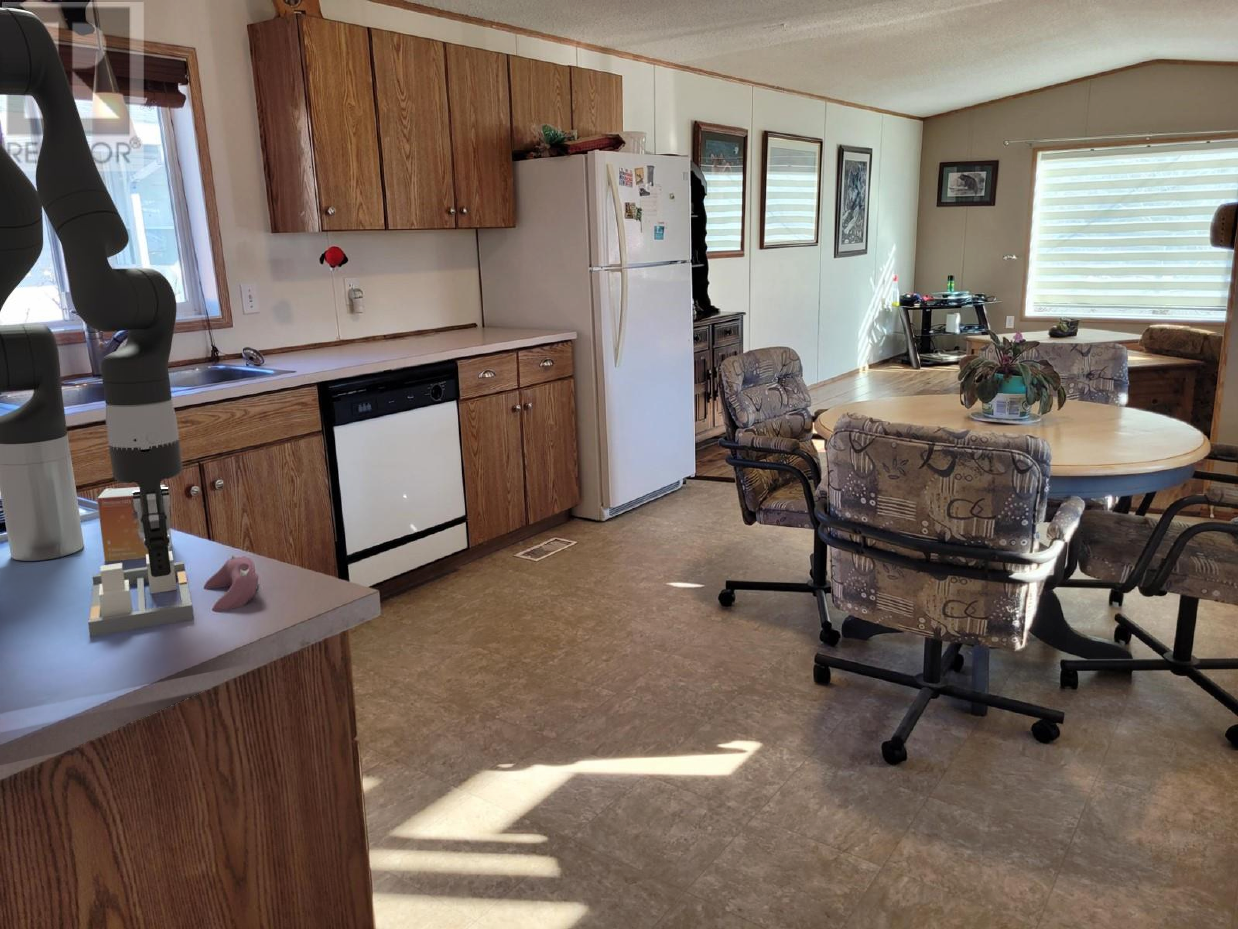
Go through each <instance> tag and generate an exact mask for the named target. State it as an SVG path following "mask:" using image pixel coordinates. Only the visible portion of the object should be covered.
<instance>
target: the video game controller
mask: <svg viewBox="0 0 1238 929" xmlns="http://www.w3.org/2000/svg"><path fill="white" fill-rule="evenodd" d="M226 587H230V588H229V589H228V590H227V591H226V592H225V593H224V594H223V595H222V596H221V597H220V598H218V600H217V601H216V602H215V603H214V604H213V607H212V609H211V610H212V611H214V612H219V611H227V610H231V609H236V608H239V607H243V606H245V605H246V604H247V603H248V602H249V601H251V599H252V598H253V597H254V596H255V594H257V593H259V591H260V590H261V584H260V583H259V574H258V573H256V566H255V563H254V561H253V559H251V558H250V557H247V556H242V555H239V556H237V557H236V556H235V555H232V556H231V558H228V559H227V560H226V562H225V563H224V564H223V565H222V567H220V569H219V570H218V571H217V572H215V573H214V574H213V575H211V577H209V579H207V581H206V582H205V584H204V586H203V589H204V590H210V589H218V588H226Z"/></svg>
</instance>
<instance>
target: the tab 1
mask: <svg viewBox="0 0 1238 929" xmlns="http://www.w3.org/2000/svg"><path fill="white" fill-rule="evenodd" d="M99 569H100V570H99V574H101V580H102V584H100V588H99V599H100V606H101V613H102V617H105V616H111V615H117V614H123V613H129V612H134V607H133V602H132V594H131V593H132V592H131V588H130V585H129V580H124V573H123V570H124V566H123V562H119V563H111V564H104V565H100V568H99Z"/></svg>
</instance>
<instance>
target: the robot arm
mask: <svg viewBox="0 0 1238 929" xmlns="http://www.w3.org/2000/svg"><path fill="white" fill-rule="evenodd" d="M3 95H4V96H32V98H33V99H34V101H35V103H36V105H37V107H38V108H39V110H40V113H41V116H42V121H43V130H42V131H43V132H42V141H41V145H40V149H39V153H38V158H37V163H36V167H35V168H36V169H35V186H34V184H33V182H32V181H31V180H30V178H29V177H28V176H27V175H26V173H25V172H24V171H23V170H22V169H21V167H20V165H18V164H17V163H16V161H15V160H14V159H13V158H12V157H11V155H10V154H9V153H8V151H7V150H6V149H5V147H4V146H3V145H2V144H1V142H0V312H1V311H2V309H3V307H4V305H5V303H6V301H7V300H8V298H9V297H10V295H11V294H12V293H13V291H14V290H15V289H16V288H17V287H18V286H19V285H20V284H21V283H22V281H23V280H24V279H25V278H26V276H27V275H28V274H29V273H30V271H31V270H32V269H33V267H34V266H35V264H36V263H37V262H38V260H39V258H40V256H41V254H42V252H43V247H44V218H43V212H45V213H44V214H46V216H47V218H48V221H49V223H50V224H51V227H52V229H53V230H54V232H55V234H56V236H57V238H58V240H59V243H60V244H61V246H62V251H63V257H64V263H65V268H66V273H67V278H68V284H69V291H70V298H71V301H72V304H73V307H74V310H75V311H76V313H77V314H78V317H80V319H82V321H83V322H85V324H87V325H88V326H89V327H90V328H92V329H94V330H95V331H96V330H97V332H98V331H99V332H103V333H113V332H116V333H117V332H124V331H128V336H127V338H126V343H125V345H124V346H123V347H121V348H120V349H118V350H115V351H113V352H110V353H109V354H107V355H105V356H104V357H103V358H102V360H101V363H100V371H101V372H100V373H101V379H102V387H103V394H104V402H105V427H106V435H107V443H108V448H109V457H110V463H111V464H110V465H111V472H112V477H113V479H114V480H116V481H117V482H120V483H125V484H131V483H135V484H137V485H138V487H140V489H139V490H138V491H133V503H134V509H135V511H137V515H138V522H139V530H140V531H141V532H142V533H144V535H145V539H144V540H145V542H144V544H145V546H146V548H147V549H148V554H149V562H150V569H151V575H152V576H153V577H159V576H166V575H169V574H170V573H171V568H170V560H169V552H168V546H169V543H170V540H169V535H167V531H168V529H170V530H171V527H172V523H171V517H170V509H169V508H170V507H171V497H170V492H169V491H170V490H169V487H168V486H167V487H165V488H161V487H160V485H161V483H162V481H163V480H166V479H167V480H169V479H173V478H176V477H178V476H179V475H180V474H181V473H182V472H183V463H182V462H183V461H182V454H181V445H180V444H181V443H180V438H179V429H178V428H179V427H178V421H177V415H176V411H175V407H174V403H173V399H172V390H171V382H170V375H169V360H170V356H171V350H172V344H173V338H174V332H175V325H176V319H177V312H178V311H177V310H178V309H177V300H176V299H177V298H176V295H175V292H174V290H173V286H172V285H171V283H170V282H169V280H168V279H167V278H166V276H165V275H163V274H162V273H161V272H160V271H158V270H155V269H153V268H148V267H136V268H135V267H134V268H132V267H131V268H130V267H129V268H113V267H112V266H111V264H110V262H109V258H110V257H111V258H112V257H114V256H116V255H118V254H119V253H121V252H122V251H124V250H125V248H127V245H128V244H129V240H130V238H129V237H130V236H129V232H128V229H127V227H126V225H125V223H124V221H123V218H122V217H121V215H120V212H119V211H118V208H117V207H116V205H115V203H114V201H113V199H112V196H111V194H110V193H109V191H108V188H107V186H106V184H105V183H104V180H103V178H102V176H101V174H100V172H99V170H98V167H97V164H96V162H95V160H94V157H93V154H92V150H91V148H90V145H89V143H88V142H89V141H88V139H87V136H86V133H85V130H84V126H83V123H82V120H81V116H80V113H79V110H78V107H77V103H76V100H75V96H74V94H73V91H72V89H71V86H70V83H69V80H68V77H67V74H66V71H65V68H64V64H63V61H62V59H61V56H60V54H59V51H58V49H57V45H56V44H55V41H54V40H53V37H52V35H51V33H50V32H49V30H48V28H47V26H46V24H44V22H43V21H42V20H41V19H40V18H39V17H38V16H37V15H36V14H34V13H33V12H31V11H28V10H24V9H18V8H12V7H10V8H9V7H0V96H3ZM59 353H60V352H59V349H58V343H57V340H56V337H55V334H54V333H53V331H52V330H51V329H50V328H49V327H48V326H47V325H46V324H42V323H26V324H25V323H23V324H22V323H21V324H3V325H0V394H1V393H12V392H20V391H21V392H22V391H23V392H24V391H31V390H32V391H33V392H32V396H31V397H30V399H29V400H28V401H26V402H25V403H24V404H23V405H21V406H20V407H17V408H16V409H14V410H12V411H9V412H6V413H5V414H3V415H0V498H1V503H2V504H1V506H2V510H3V515H4V517H3V518H4V523H5V528H6V535H7V542H8V547H9V553H10V557H11V559H13V560H16V561H22V562H23V561H24V562H35V561H45V560H52V559H57V558H60V557H61V558H62V557H66V556H68V555H72V554H74V553H76V552H78V551H81V550H82V549H83V548H84V546H85V543H84V536H83V529H82V524H81V514H80V508H79V503H78V495H77V488H76V482H75V476H74V475H75V474H74V468H73V462H72V455H71V448H70V441H69V436H68V428H67V422H66V420H67V419H66V412H65V405H64V398H63V389H62V388H63V387H62V375H61V363H60V362H61V360H60V354H59ZM163 505H164V506H163ZM142 511H143V513H142Z"/></svg>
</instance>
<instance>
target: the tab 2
mask: <svg viewBox="0 0 1238 929" xmlns="http://www.w3.org/2000/svg"><path fill="white" fill-rule="evenodd" d="M168 552H169V560H170V568H171V573H170V574H169V575H166V576H159V577H153V576H152V575H151V569H150V562H149V554H146V558H145V559H146V561H145V562H146V567H147V571H148V578H149V582H148V583H149V585H148V586H149V592H150V594H159V593H165V592H172V591H176V590H178V589H177V581H176V580H177V579H176V578H175V571H174V563H175V562H174V556H173V551H172V550H170V551H168Z"/></svg>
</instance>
